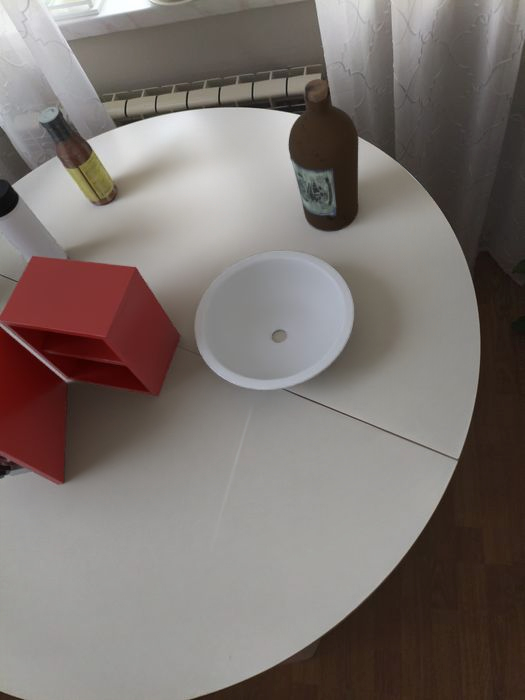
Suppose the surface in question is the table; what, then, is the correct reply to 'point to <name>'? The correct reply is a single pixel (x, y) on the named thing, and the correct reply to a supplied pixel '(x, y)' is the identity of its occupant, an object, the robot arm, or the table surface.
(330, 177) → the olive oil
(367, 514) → the table surface
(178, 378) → the table surface
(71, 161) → the sauce bottle
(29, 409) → the red cabinet door
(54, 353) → the cabinet
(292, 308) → the white sink basin
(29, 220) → the travel mug
